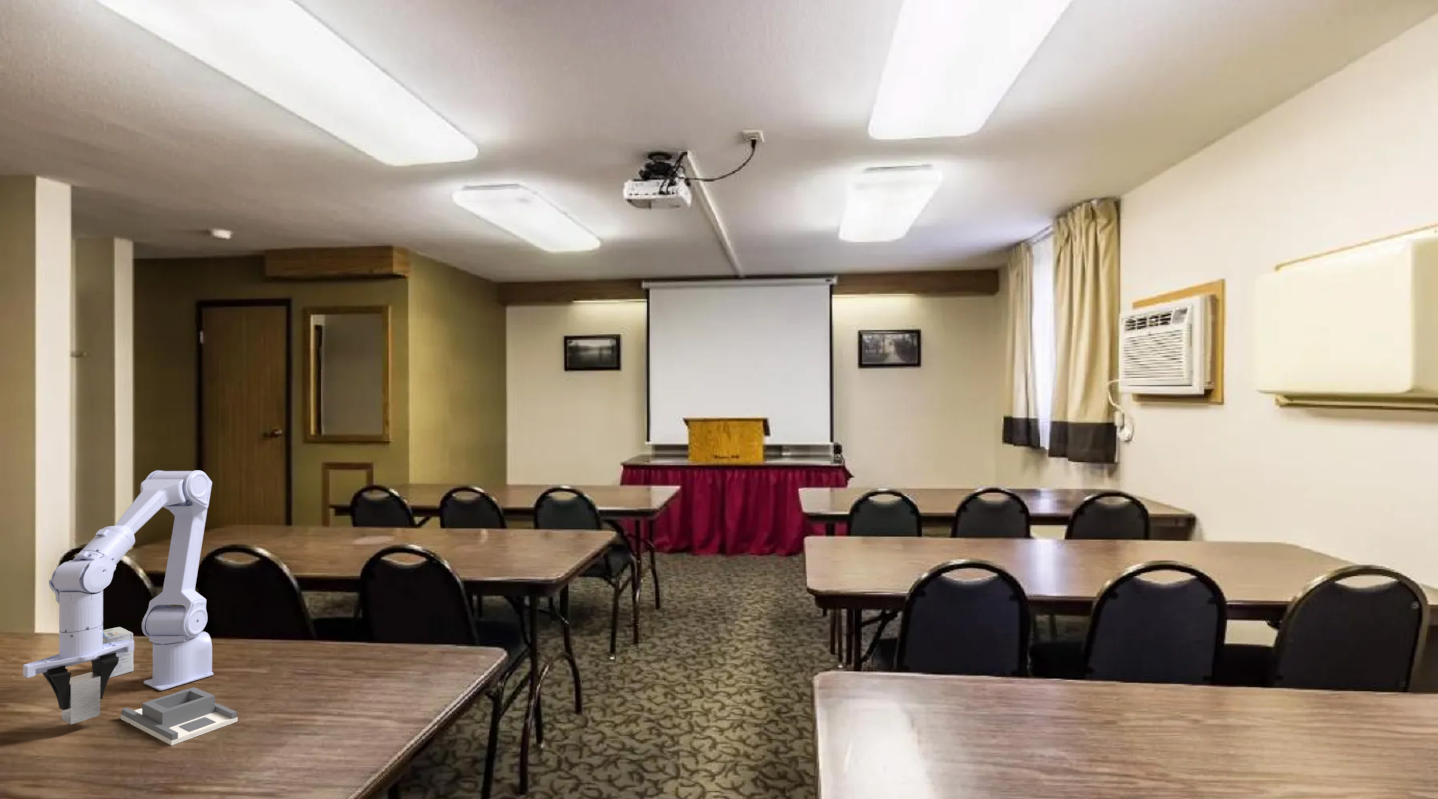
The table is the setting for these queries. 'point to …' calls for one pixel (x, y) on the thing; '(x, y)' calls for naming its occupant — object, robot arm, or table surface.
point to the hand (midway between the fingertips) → (81, 703)
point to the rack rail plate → (180, 716)
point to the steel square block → (83, 698)
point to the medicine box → (124, 658)
